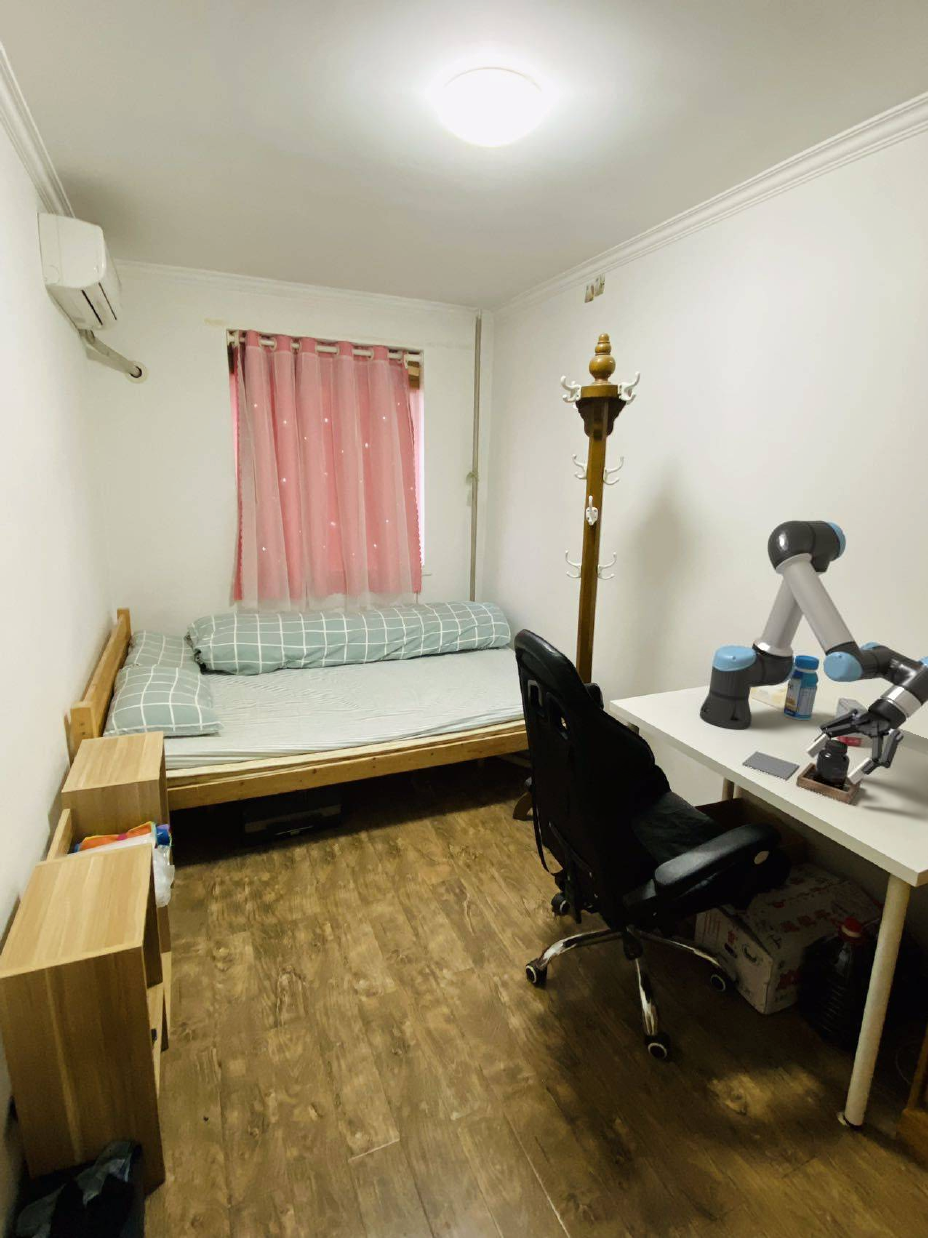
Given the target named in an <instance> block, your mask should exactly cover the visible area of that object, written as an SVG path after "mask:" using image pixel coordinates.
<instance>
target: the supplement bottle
mask: <svg viewBox="0 0 928 1238" xmlns="http://www.w3.org/2000/svg"><path fill="white" fill-rule="evenodd" d="M848 748H849V745H847V744H846V743H844V742H841V741H839V740H838V739H833V738H831V739H830V740H826V742H825V746H824V749H822V750H821V751H820V752H819V753H818V754H817V757H816V763H815V764H816V768H815V772H814V774H813V778H812V781H815V782H818V783H821V784H824V785H827V786H830V787H833V788H836V789H839V790H842V791H845V786H846V784H845V782H846V777H847V774H848V771H849V767H850V763H851V762H850V761H851V760H850V757H849V756H848V755H847V754H848Z"/></svg>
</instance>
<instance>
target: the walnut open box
mask: <svg viewBox="0 0 928 1238" xmlns="http://www.w3.org/2000/svg"><path fill="white" fill-rule="evenodd" d="M815 768H816V763H813V762H810V763H809V764H807V766H806V767H805V768H804V769H803V771H801V773H799V775H797V778H796V779H797V780H796V784H795V786H796V785H797V786H798V788H800V787H801V789H803V788H804V790H806V791H809V790H810V791H809V792H812V791H813V793H815V792H816V793H815V794H817V793H819V794H818V795H820V794H822V795H821V796H823V797H826V796H828V797H827V798H829V799H832V798H833V799H832V800H835V799H836V800H835V801H837V800H838V802H840V801H841V803H843V802H844V804H846V805H849V804H850V803H851V801H852V799H853V798H854V797H855V795H856V794H857V793H858V792H859V790H860V788H861V783H862V778H861V779H860V780H859V781H858V782H857V783H856V784H853V783H852V782H851V781H850V779H849V778H848V777H846V782H845V786H849V787H850V788H849V790H848V791H845V790H843V791H842V790H839V789H836V788H833V787H830V786H827V785H824V784H821V783H818V782H815V781H813V779H809V777H810V776H811V775H812V774H813V775H814V772H815ZM848 775H849V773H847V776H848ZM797 786H796V787H797Z"/></svg>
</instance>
